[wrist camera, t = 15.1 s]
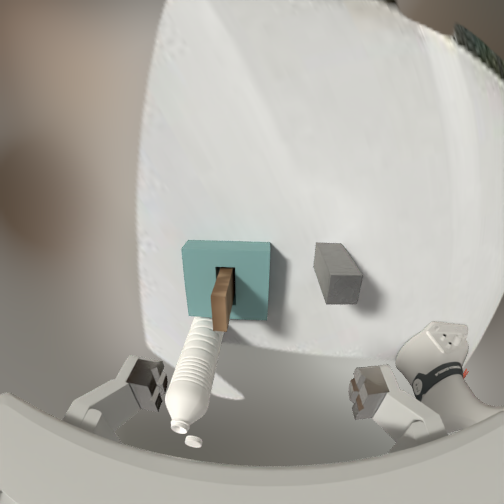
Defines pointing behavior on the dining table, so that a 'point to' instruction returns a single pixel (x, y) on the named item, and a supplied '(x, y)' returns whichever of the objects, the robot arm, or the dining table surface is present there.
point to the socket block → (246, 276)
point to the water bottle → (194, 377)
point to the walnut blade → (223, 298)
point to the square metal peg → (337, 274)
